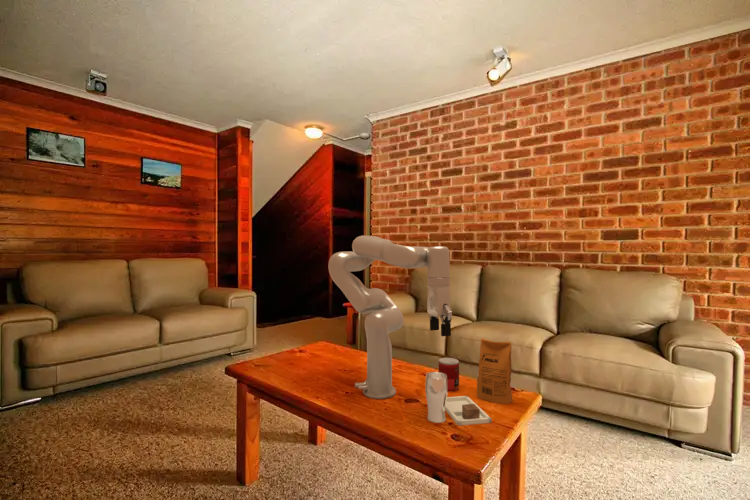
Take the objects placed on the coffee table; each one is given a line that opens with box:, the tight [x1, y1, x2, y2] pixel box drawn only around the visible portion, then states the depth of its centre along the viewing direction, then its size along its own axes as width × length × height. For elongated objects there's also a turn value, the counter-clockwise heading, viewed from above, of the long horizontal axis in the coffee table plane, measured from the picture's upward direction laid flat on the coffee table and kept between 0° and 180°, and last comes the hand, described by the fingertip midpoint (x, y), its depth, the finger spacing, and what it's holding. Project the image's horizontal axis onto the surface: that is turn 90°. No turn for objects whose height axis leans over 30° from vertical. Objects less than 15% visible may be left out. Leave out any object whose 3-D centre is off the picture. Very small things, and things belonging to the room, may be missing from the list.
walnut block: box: [462, 403, 480, 419], centre depth 115 cm, size 4×4×4 cm
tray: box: [445, 395, 492, 426], centre depth 121 cm, size 11×18×2 cm, turn 10°
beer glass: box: [424, 371, 449, 424], centre depth 115 cm, size 7×7×15 cm
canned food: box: [438, 357, 460, 392], centre depth 144 cm, size 8×8×11 cm
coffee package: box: [476, 338, 513, 405], centre depth 132 cm, size 10×12×22 cm
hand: (440, 332), depth 123 cm, fingers open, 9 cm apart
